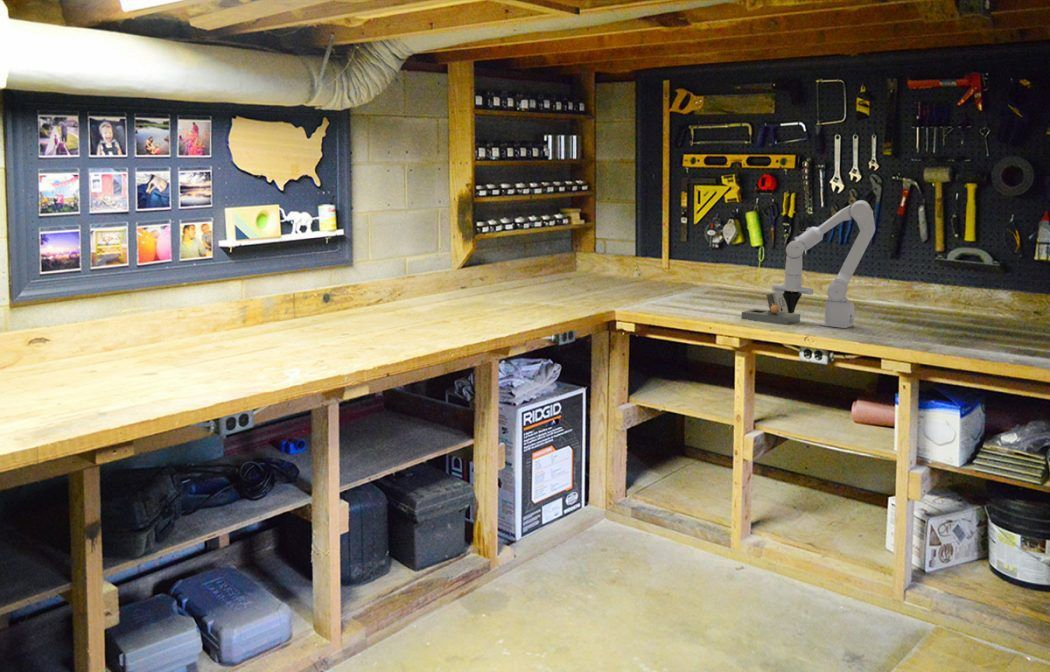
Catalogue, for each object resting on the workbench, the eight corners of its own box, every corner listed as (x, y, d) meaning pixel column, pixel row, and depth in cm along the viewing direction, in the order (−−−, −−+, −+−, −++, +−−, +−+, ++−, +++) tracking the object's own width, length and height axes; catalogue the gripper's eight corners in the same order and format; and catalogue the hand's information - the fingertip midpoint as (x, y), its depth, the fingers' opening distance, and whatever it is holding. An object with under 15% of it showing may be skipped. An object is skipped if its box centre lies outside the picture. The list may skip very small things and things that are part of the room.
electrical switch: (779, 316, 353) (778, 291, 351) (766, 316, 356) (765, 291, 355) (789, 313, 360) (789, 288, 359) (776, 313, 363) (776, 288, 362)
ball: (780, 313, 343) (781, 304, 343) (776, 314, 341) (777, 305, 340) (772, 312, 345) (773, 303, 345) (768, 313, 343) (769, 304, 342)
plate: (799, 321, 343) (800, 314, 342) (787, 324, 335) (788, 317, 335) (754, 315, 354) (754, 308, 354) (741, 318, 347) (741, 312, 346)
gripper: (817, 275, 335) (815, 313, 338) (779, 272, 344) (777, 309, 347) (809, 277, 330) (806, 316, 332) (770, 273, 339) (768, 311, 341)
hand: (791, 312), depth 339 cm, fingers closed
